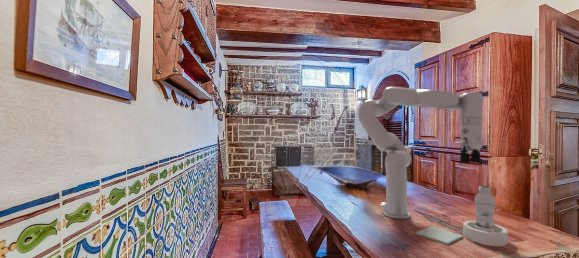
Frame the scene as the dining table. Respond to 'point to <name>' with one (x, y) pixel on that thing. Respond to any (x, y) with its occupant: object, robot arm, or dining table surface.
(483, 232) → the bowl
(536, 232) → the dining table surface
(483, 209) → the plastic bottle
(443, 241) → the mat
